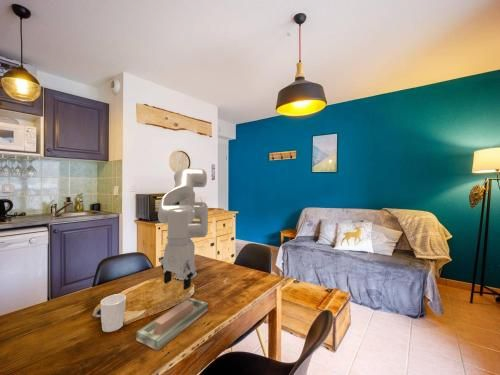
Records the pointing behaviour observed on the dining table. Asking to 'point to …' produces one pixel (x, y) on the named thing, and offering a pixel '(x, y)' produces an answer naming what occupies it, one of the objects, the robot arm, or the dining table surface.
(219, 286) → the dining table surface
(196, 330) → the dining table surface
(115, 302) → the white cup
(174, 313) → the clay strip
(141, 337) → the glass channel tray
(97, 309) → the pastry
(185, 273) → the robot arm
